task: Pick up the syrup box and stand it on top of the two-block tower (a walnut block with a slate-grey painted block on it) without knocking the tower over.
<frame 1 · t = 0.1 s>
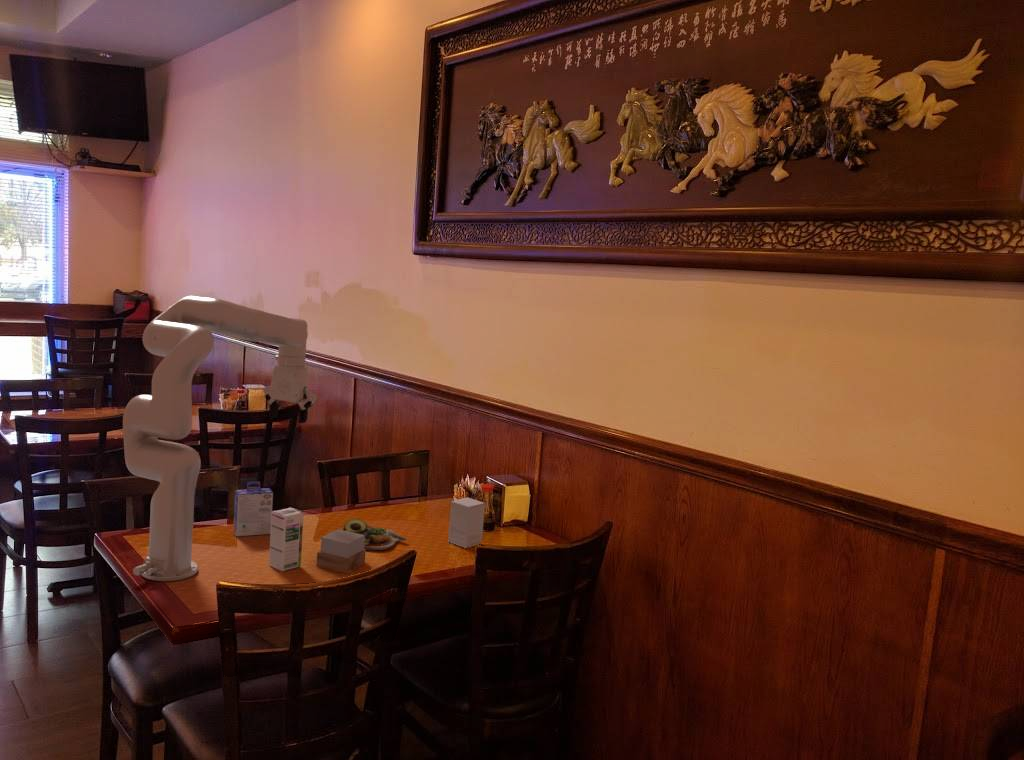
hand: (287, 420, 229), 31 cm above the table, fingers open, 9 cm apart
syrup box: (284, 566, 201), on the table
ink cartridge box: (252, 533, 223), on the table
salad plate: (365, 541, 226), on the table
supplement box: (464, 544, 232), on the table
walnut block: (340, 565, 206), on the table, touching grey block
grey block: (342, 551, 206), point 4 cm above the table, touching walnut block
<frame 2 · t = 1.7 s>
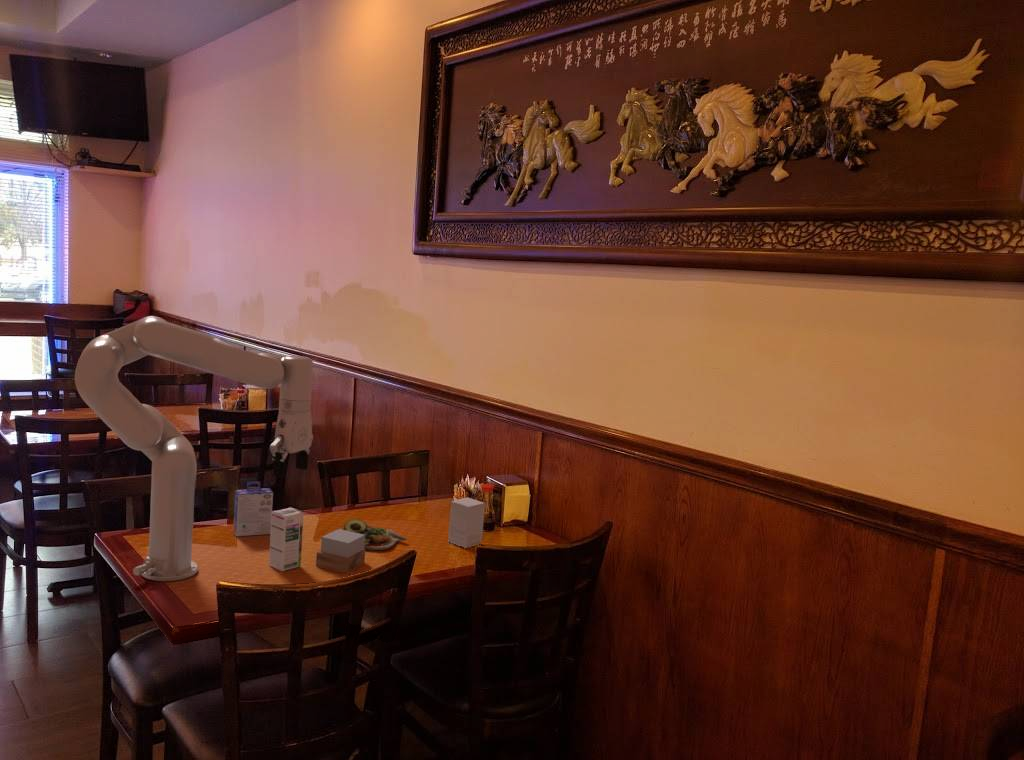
hand: (290, 472, 199), 24 cm above the table, fingers open, 9 cm apart
nothing on the table moved.
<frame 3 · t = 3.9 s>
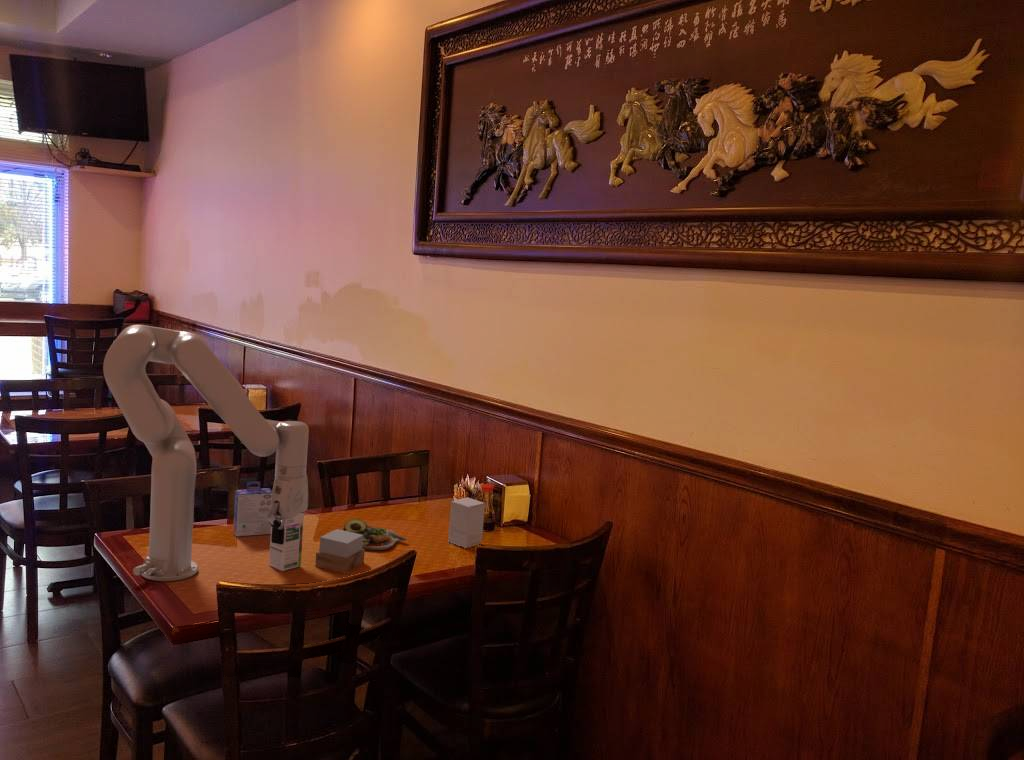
hand: (286, 538, 200), 7 cm above the table, fingers closed on syrup box, 6 cm apart
syrup box: (284, 566, 201), on the table, touching gripper
walnut block: (339, 565, 206), on the table
grey block: (340, 550, 206), point 4 cm above the table
everything else where it was.
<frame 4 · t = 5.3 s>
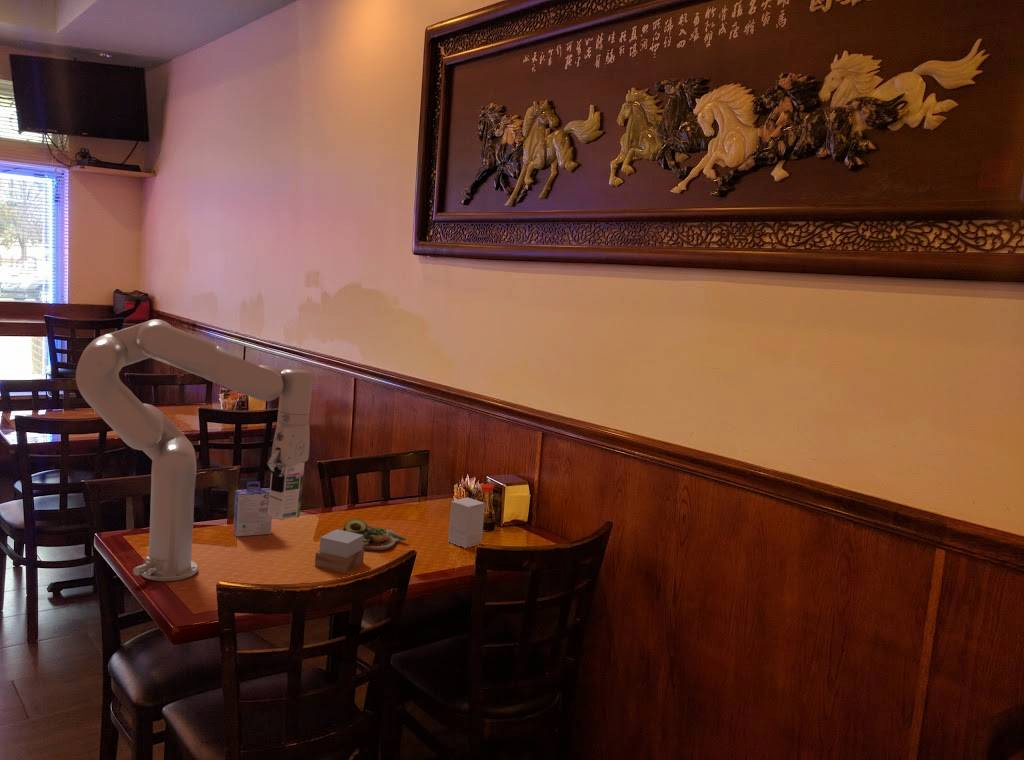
hand: (286, 487, 198), 21 cm above the table, fingers closed on syrup box, 6 cm apart
syrup box: (283, 516, 199), point 13 cm above the table, touching gripper
walnut block: (339, 565, 206), on the table, touching grey block
grey block: (341, 550, 206), point 4 cm above the table, touching walnut block
everything else where it was.
when the fingers open (17 cm above the table, at t = 9.3 s): syrup box drops 1 cm, point 8 cm above the table.
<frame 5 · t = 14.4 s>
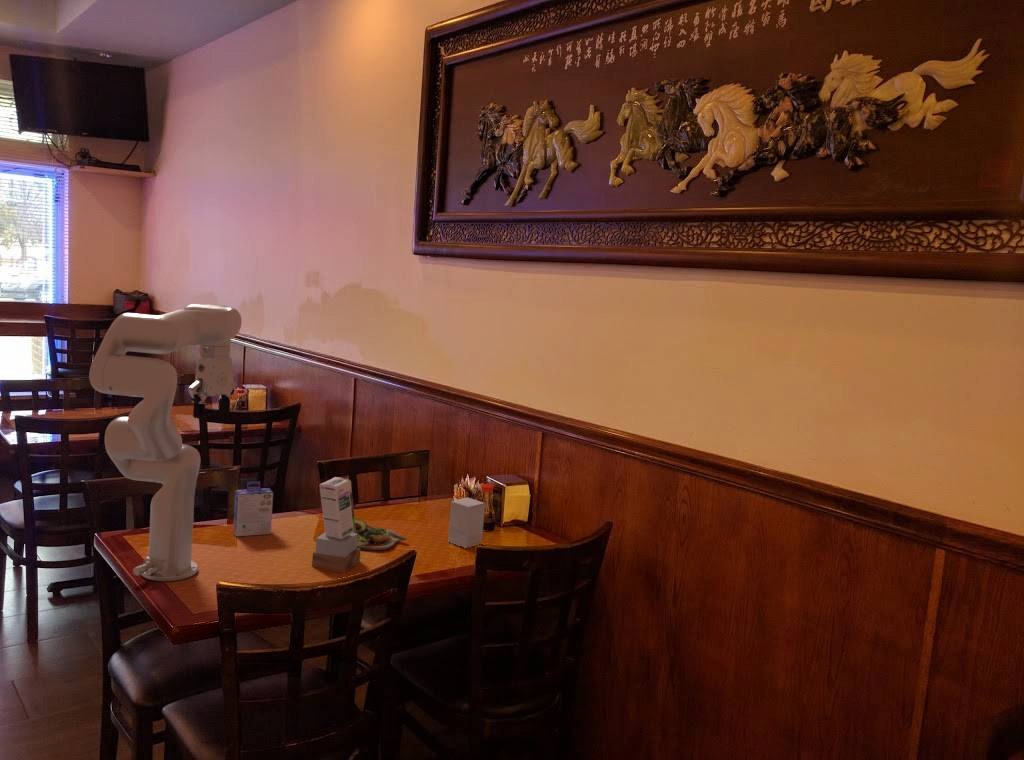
hand: (211, 415, 209), 34 cm above the table, fingers open, 9 cm apart
syrup box: (340, 534, 205), point 8 cm above the table
grey block: (336, 550, 205), point 4 cm above the table, touching walnut block
at the end: syrup box inside the target area on the walnut block (0.5 cm from its centre), point 8.4 cm above the walnut block's base; syrup box tilted 10°; grey block 0.1 cm off-centre on the walnut block, point 4.0 cm above the walnut block's base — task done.
